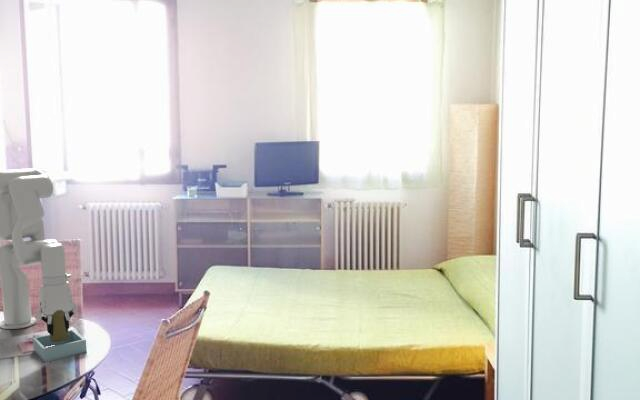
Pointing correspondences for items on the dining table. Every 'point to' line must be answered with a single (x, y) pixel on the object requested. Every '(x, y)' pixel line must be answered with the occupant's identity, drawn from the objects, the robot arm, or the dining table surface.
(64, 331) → the cork
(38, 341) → the bin
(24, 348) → the dining table surface
